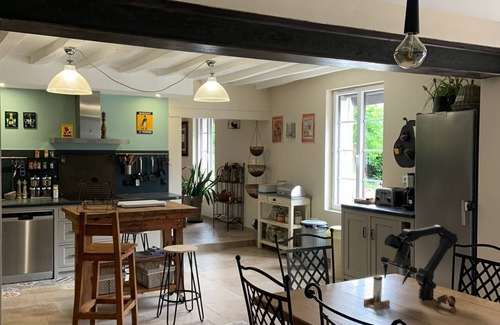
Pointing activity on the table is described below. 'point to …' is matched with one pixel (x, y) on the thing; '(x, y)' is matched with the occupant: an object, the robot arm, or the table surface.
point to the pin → (377, 289)
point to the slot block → (376, 304)
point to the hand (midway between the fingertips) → (393, 281)
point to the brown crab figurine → (443, 299)
